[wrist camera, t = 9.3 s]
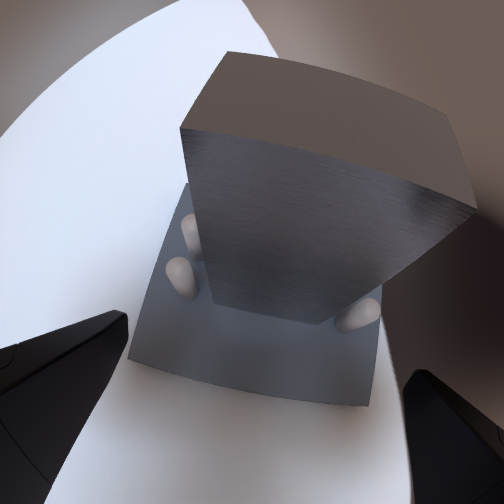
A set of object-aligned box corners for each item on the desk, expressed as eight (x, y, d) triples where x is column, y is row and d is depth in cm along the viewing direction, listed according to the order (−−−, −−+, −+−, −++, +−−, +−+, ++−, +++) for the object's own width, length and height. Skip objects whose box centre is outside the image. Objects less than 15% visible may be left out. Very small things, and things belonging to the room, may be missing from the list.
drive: (317, 325, 16) (477, 209, 4) (213, 303, 16) (179, 127, 5) (324, 270, 17) (444, 110, 6) (227, 249, 17) (229, 48, 6)
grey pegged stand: (359, 405, 15) (399, 411, 11) (134, 359, 15) (102, 353, 11) (375, 235, 20) (406, 200, 16) (188, 192, 20) (180, 147, 16)
